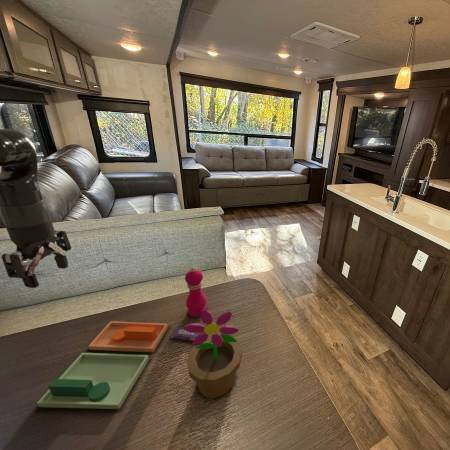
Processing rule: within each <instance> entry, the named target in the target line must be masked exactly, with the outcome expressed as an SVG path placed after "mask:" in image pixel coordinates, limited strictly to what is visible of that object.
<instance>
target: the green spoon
mask: <svg viewBox="0 0 450 450" xmlns="http://www.w3.org/2000/svg"><path fill="white" fill-rule="evenodd" d="M49 389H50V391H51V393H52V395H53V396H69V397H89V400H90V401H91V402H98V401H100V400H102V399H104V398H105V397H106V396H107V395H108V394H109V392H110V386H109V383H107V382H101V383H98V384H96V385H95V386H93V383H92V380H76V379H59V378H54V380H52V381H51V383H50V384H49V385H48V390H49Z"/></svg>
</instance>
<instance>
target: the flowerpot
mask: <svg viewBox="0 0 450 450" xmlns="http://www.w3.org/2000/svg"><path fill="white" fill-rule="evenodd" d="M232 316H233V312H232V311H230V310H229V311H226V312H222V313H221V314H220V315H219V316H218V317H217V318H216V320H215V321H216V322H213V321H214V316H213V315H212V312H211V311H210V310H207V308H206V309H204V310H201V316H200V320H201V322H202V323H203V324H204V325H203V324H202V323H199V322H198V323H197V322H195V323H194V322H191V323H188V324H185V325H184V326H183V327H184V330H186V331H188V332H190V333H199V332H202V331H205V333H201V334H199V335H198V336H197V337H196V338H194V341H192V348H191V350H190V353H189V354H188V357H187V359H186V363H187V364H186V365H187V370H188V374H189V378H190V379H192V380H193V381H194V382H196V385H197V388H198V392H199V393H200V394H201V395H202V396H204V397H205V398H209V399H217V398H219V397H221V396H223V395H226V394H227V393H228V392H229V391H230V390H231V388H232V387H233V386H234V383H235V382H234V381H235V378H236V372H237V371H238V370H239V368H240V366H241V362H242V358H243V350H242V347H241V345H240V343H239V341H238V340H237V339H236V338H235V337H233V335H234V334H237V333H239V330H240V329H239V328H238V327H236V326H235V325H229V324H227V323H228V322H229V321H230V320H231V318H232ZM219 332H220V333H219Z"/></svg>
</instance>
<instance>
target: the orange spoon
mask: <svg viewBox="0 0 450 450" xmlns="http://www.w3.org/2000/svg"><path fill="white" fill-rule="evenodd" d="M156 337H157V334H156V329H155V328H153V327H131V326H127V327H126V328H125V329H120V330H117V331H116V332H114V333H113V335H112V339H113V341H114V342H122V341H124V340H146V341H154V340H155V338H156Z"/></svg>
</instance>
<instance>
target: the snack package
mask: <svg viewBox="0 0 450 450" xmlns="http://www.w3.org/2000/svg"><path fill="white" fill-rule="evenodd" d="M201 333H205V331H202V332H199V333H190V332H188V331H186V330H184V326H177V328H175V331H174V332H173V333H172V334H171V336H170V339H175V340H182V341H191V342H193V341H194V338H196V337H197V336H198V335H199V334H201Z"/></svg>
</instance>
